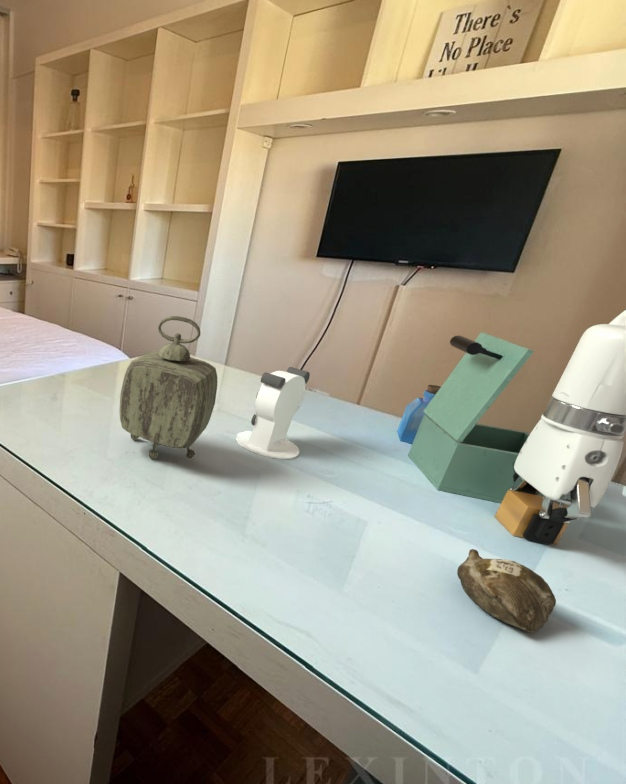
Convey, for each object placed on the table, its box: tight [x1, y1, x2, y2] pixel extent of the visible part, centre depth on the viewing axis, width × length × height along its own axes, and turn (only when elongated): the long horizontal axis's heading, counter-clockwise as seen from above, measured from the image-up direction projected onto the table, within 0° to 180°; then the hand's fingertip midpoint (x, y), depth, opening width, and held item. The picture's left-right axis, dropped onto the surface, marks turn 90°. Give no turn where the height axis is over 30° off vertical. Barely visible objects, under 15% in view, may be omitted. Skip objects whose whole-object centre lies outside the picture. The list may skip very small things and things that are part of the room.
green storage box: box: [407, 415, 566, 506], centre depth 79 cm, size 16×14×9 cm
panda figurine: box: [235, 366, 311, 460], centre depth 87 cm, size 12×11×15 cm
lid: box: [423, 331, 535, 442], centre depth 77 cm, size 16×14×6 cm
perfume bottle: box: [396, 384, 442, 445], centre depth 95 cm, size 6×6×12 cm
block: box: [494, 490, 570, 546], centre depth 67 cm, size 5×5×5 cm
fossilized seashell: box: [456, 548, 557, 633], centre depth 52 cm, size 8×7×10 cm
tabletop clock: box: [119, 315, 218, 460], centre depth 78 cm, size 14×9×25 cm, turn 57°
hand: (525, 528), depth 67 cm, fingers closed on block, 5 cm apart
